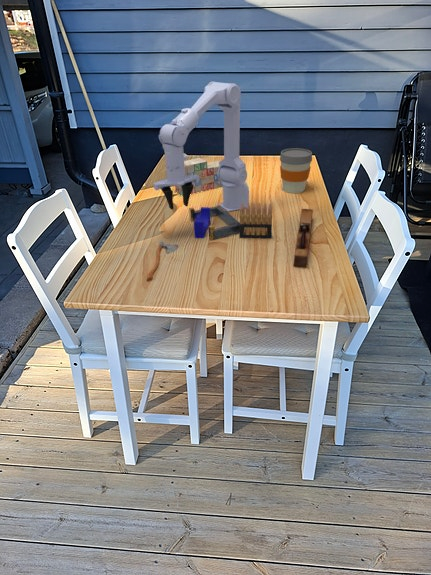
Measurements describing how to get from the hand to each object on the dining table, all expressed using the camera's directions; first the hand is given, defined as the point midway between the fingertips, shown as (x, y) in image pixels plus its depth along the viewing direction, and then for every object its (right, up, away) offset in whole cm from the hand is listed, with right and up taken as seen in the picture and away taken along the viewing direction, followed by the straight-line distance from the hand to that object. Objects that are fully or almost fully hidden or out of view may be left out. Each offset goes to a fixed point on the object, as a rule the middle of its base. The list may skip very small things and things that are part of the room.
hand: (178, 206), depth 139 cm
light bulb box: (-5, +23, +53) cm, 58 cm away
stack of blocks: (+6, +15, +40) cm, 43 cm away
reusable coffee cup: (+44, +14, +37) cm, 59 cm away
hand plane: (+41, -12, -1) cm, 42 cm away
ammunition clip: (+25, -10, +2) cm, 27 cm away
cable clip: (+7, -7, +8) cm, 13 cm away
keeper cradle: (+12, -5, +10) cm, 16 cm away
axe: (-4, -19, -9) cm, 21 cm away
